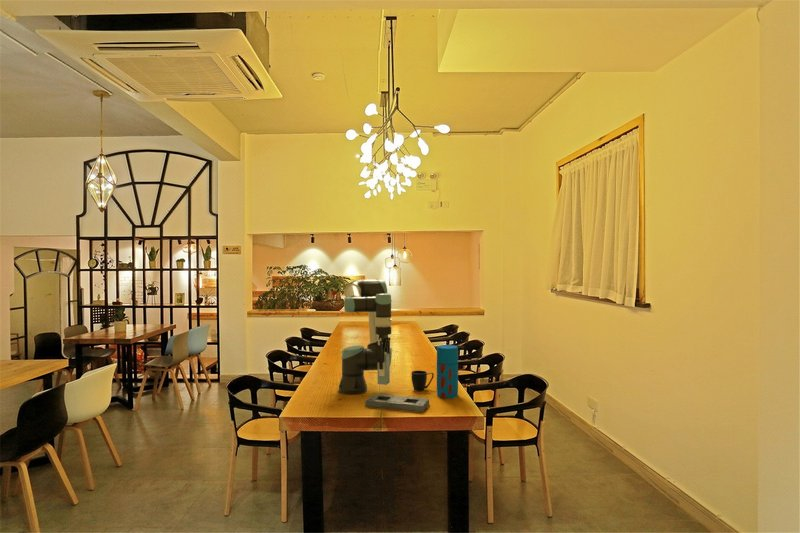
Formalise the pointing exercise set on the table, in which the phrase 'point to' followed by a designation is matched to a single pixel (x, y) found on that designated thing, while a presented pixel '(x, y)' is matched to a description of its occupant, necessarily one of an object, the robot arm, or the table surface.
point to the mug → (420, 380)
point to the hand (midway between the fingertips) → (383, 374)
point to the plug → (385, 379)
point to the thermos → (447, 371)
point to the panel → (397, 402)
